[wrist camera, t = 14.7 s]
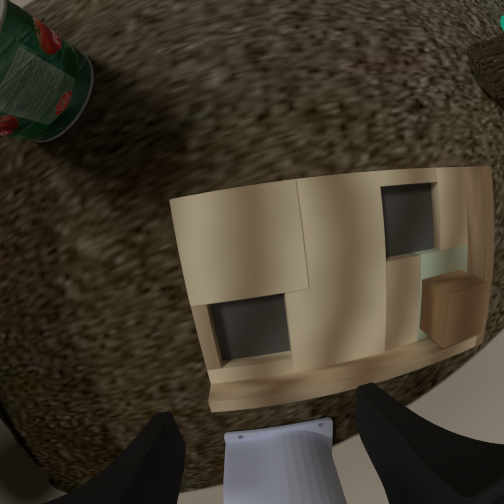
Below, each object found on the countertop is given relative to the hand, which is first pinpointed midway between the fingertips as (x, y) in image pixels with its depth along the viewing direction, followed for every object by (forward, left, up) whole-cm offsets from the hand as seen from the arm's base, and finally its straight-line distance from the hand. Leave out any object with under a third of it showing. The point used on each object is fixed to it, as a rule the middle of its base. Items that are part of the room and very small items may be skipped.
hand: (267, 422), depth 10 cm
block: (+14, -1, -9) cm, 17 cm away
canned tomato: (-13, +19, -11) cm, 25 cm away
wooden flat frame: (+7, +2, -10) cm, 12 cm away
